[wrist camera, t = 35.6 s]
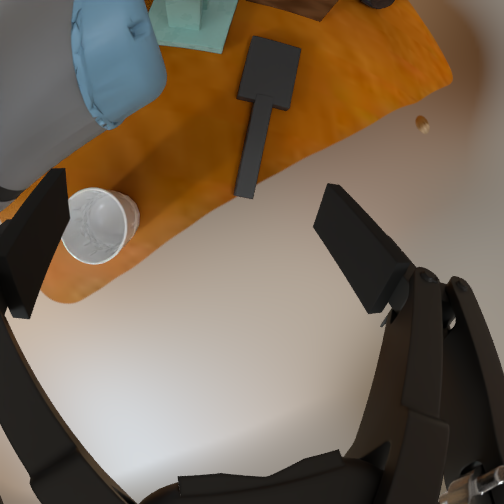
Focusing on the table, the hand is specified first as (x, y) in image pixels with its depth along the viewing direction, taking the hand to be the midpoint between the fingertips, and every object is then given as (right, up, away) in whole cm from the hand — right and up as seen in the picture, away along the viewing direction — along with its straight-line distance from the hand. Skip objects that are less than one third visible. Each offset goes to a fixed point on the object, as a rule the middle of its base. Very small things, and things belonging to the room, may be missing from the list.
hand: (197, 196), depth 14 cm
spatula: (+4, +16, +24) cm, 29 cm away
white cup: (-15, +2, +24) cm, 28 cm away
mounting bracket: (-6, +30, +19) cm, 37 cm away
